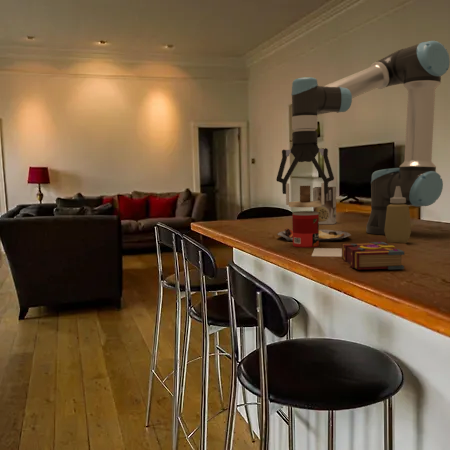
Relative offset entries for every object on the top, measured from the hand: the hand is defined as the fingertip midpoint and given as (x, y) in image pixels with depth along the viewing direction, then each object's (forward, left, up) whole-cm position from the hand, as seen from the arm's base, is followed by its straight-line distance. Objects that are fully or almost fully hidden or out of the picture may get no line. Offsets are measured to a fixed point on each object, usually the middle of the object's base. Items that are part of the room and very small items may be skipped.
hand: (305, 204), depth 156 cm
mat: (-10, +12, -13) cm, 21 cm away
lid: (0, 0, 0) cm, 0 cm away
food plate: (-1, -20, -14) cm, 24 cm away
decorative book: (-18, +27, -13) cm, 35 cm away
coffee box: (-3, -69, -14) cm, 70 cm away
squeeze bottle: (-28, -11, -14) cm, 33 cm away
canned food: (0, 0, -14) cm, 14 cm away
